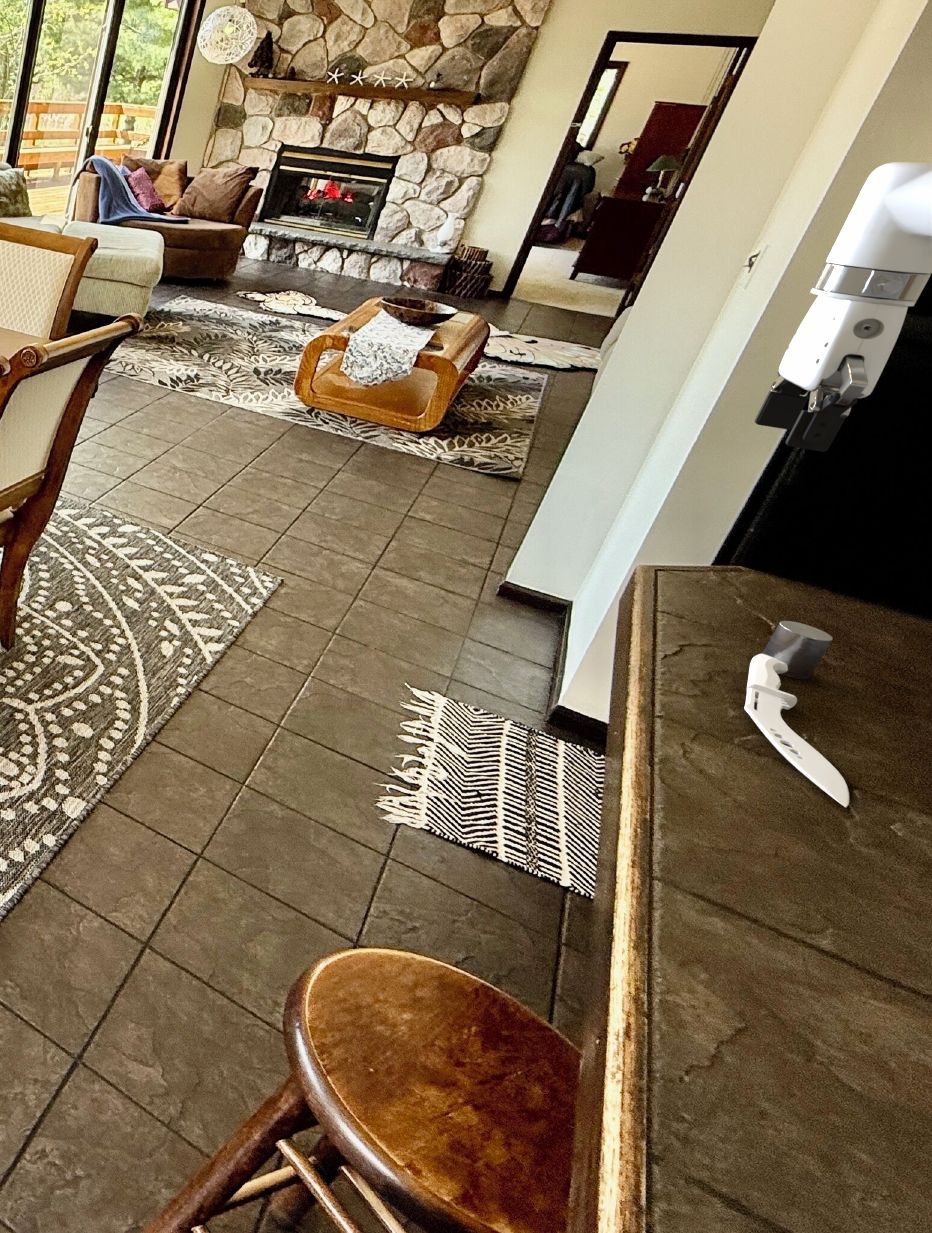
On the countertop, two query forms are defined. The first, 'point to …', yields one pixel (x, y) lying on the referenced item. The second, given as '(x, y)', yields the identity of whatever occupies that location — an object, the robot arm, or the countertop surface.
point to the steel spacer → (798, 648)
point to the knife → (771, 723)
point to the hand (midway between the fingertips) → (788, 437)
